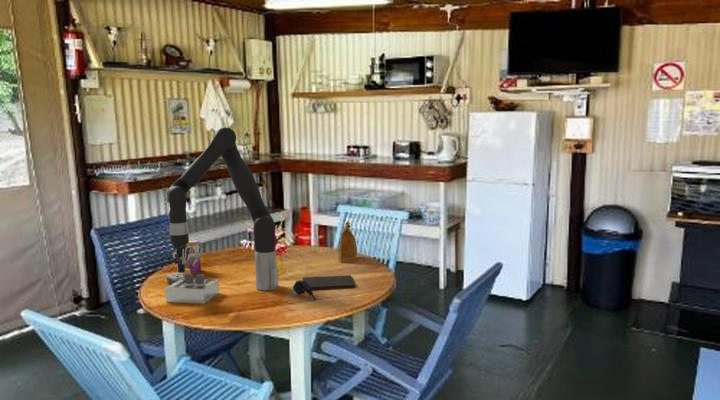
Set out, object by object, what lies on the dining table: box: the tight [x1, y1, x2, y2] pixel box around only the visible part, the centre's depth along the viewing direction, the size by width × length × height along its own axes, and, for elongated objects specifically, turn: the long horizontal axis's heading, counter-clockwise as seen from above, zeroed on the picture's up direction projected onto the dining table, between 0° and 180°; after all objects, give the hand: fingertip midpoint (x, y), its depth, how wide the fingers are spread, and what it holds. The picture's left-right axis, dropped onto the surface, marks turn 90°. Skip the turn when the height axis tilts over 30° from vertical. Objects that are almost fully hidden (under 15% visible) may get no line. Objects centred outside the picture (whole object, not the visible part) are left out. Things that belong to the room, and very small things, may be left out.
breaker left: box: [195, 273, 206, 287], centre depth 229 cm, size 3×4×4 cm
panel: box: [164, 278, 220, 305], centre depth 234 cm, size 17×15×6 cm
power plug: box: [292, 279, 317, 301], centre depth 233 cm, size 6×8×12 cm
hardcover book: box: [302, 275, 356, 291], centre depth 251 cm, size 16×23×2 cm
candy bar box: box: [176, 239, 202, 274], centre depth 271 cm, size 11×5×16 cm, turn 111°
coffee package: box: [337, 221, 358, 264], centre depth 288 cm, size 10×12×22 cm
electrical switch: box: [164, 272, 183, 285], centre depth 256 cm, size 9×5×9 cm
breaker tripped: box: [181, 269, 192, 280], centre depth 239 cm, size 3×4×4 cm
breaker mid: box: [184, 273, 195, 286], centre depth 230 cm, size 3×4×4 cm
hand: (181, 272), depth 234 cm, fingers closed
